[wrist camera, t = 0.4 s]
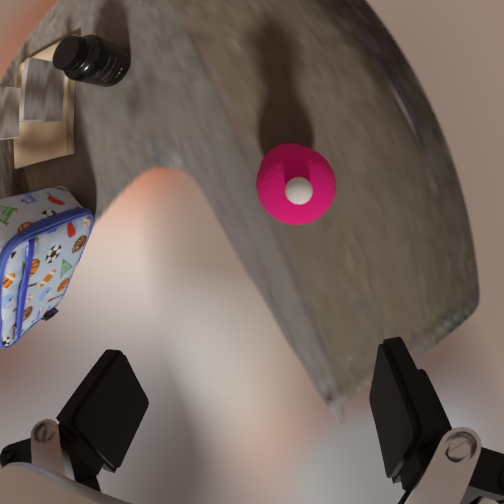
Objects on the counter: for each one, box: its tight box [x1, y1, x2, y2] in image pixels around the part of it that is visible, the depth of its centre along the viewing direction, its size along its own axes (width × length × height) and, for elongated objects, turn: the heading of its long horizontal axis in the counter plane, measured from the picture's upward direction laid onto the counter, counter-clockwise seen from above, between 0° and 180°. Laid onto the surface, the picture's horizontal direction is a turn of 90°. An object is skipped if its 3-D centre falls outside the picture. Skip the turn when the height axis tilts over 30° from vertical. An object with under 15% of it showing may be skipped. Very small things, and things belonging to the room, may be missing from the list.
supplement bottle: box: [52, 35, 130, 87], centre depth 26 cm, size 7×7×12 cm
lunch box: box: [0, 186, 94, 349], centre depth 33 cm, size 28×10×22 cm, turn 142°
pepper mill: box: [256, 143, 336, 225], centre depth 26 cm, size 7×7×20 cm
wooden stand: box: [0, 34, 80, 169], centre depth 29 cm, size 22×16×11 cm
